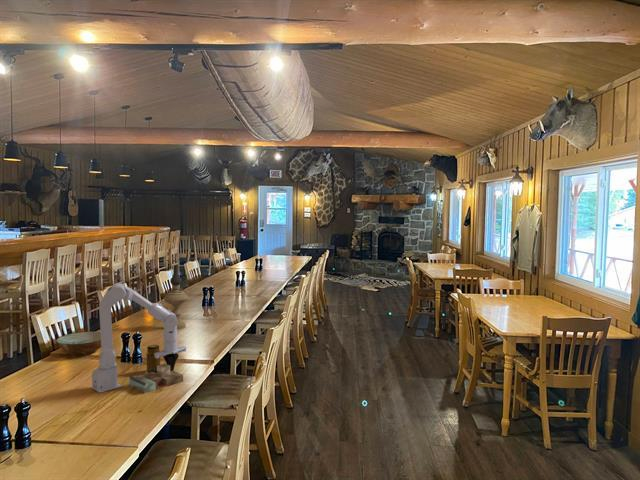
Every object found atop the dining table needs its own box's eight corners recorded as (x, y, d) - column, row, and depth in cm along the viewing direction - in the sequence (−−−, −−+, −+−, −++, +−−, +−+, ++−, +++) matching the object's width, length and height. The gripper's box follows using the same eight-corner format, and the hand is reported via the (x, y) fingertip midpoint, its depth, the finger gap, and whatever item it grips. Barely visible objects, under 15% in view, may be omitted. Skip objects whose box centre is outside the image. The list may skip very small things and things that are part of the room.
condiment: (148, 368, 228) (147, 344, 227) (166, 368, 228) (166, 343, 228) (144, 374, 220) (143, 348, 220) (163, 373, 221) (162, 348, 220)
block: (162, 376, 208) (161, 367, 208) (157, 374, 211) (157, 365, 211) (170, 374, 211) (170, 365, 211) (165, 372, 214) (165, 363, 213)
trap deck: (144, 393, 197) (144, 383, 197) (129, 385, 206) (129, 375, 206) (183, 381, 211) (182, 372, 211) (167, 374, 220) (167, 365, 219)
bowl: (88, 361, 239) (88, 345, 239) (44, 357, 244) (44, 342, 244) (119, 347, 264) (118, 332, 263) (79, 344, 269) (78, 330, 268)
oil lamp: (184, 330, 299) (183, 266, 297) (160, 330, 300) (159, 266, 297) (191, 324, 314) (190, 264, 312) (169, 324, 315) (168, 264, 312)
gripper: (160, 345, 205) (160, 376, 205) (189, 338, 215) (190, 368, 216) (151, 342, 209) (152, 372, 210) (181, 335, 220) (181, 364, 221)
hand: (171, 370), depth 214 cm, fingers closed
